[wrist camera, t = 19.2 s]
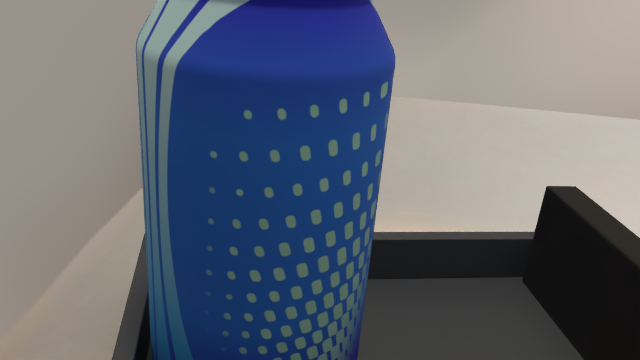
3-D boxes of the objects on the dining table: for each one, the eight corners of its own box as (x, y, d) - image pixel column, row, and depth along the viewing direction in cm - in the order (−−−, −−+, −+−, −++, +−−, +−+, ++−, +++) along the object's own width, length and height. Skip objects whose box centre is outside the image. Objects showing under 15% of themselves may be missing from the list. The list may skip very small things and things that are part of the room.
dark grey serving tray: (87, 559, 18) (77, 487, 17) (147, 283, 31) (144, 232, 30) (714, 505, 21) (745, 443, 20) (529, 277, 34) (541, 231, 33)
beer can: (288, 290, 30) (310, -39, 24) (395, 396, 24) (463, -10, 18) (125, 342, 26) (96, -46, 19) (204, 489, 20) (201, -11, 13)
